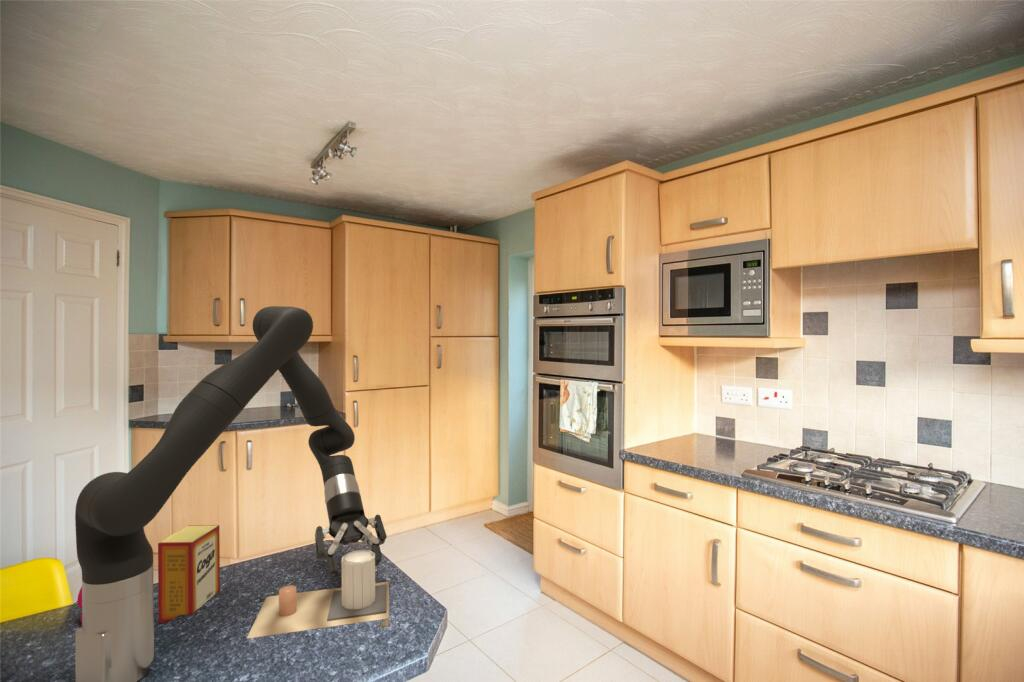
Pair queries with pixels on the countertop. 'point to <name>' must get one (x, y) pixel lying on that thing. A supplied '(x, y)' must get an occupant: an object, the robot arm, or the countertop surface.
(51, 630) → the countertop surface
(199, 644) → the countertop surface
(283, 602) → the peach rounded knob
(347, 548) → the countertop surface
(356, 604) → the cover cup
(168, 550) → the red cream cardboard box
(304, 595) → the board
